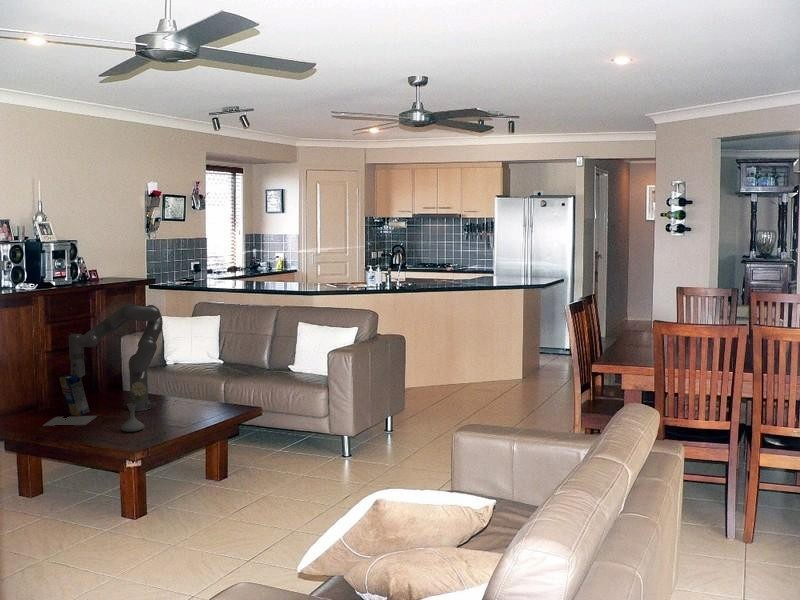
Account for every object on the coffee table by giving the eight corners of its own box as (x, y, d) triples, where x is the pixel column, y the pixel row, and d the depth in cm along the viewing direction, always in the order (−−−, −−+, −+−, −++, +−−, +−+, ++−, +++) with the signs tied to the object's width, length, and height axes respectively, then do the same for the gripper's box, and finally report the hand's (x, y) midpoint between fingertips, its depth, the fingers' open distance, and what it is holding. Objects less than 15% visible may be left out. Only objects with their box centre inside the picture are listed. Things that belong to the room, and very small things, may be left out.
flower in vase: (122, 434, 419) (120, 385, 417) (120, 429, 430) (117, 381, 427) (149, 431, 424) (147, 382, 422) (146, 426, 435) (144, 379, 433)
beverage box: (78, 416, 458) (68, 378, 453) (68, 414, 465) (58, 376, 460) (90, 411, 462) (79, 374, 458) (80, 410, 470) (70, 372, 465)
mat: (97, 416, 459) (97, 415, 459) (85, 425, 439) (85, 424, 439) (56, 417, 458) (56, 416, 458) (42, 426, 438) (42, 425, 438)
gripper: (79, 358, 453) (80, 392, 455) (88, 354, 468) (89, 386, 470) (65, 358, 453) (66, 392, 455) (74, 354, 468) (76, 387, 470)
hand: (78, 389), depth 462 cm, fingers closed
